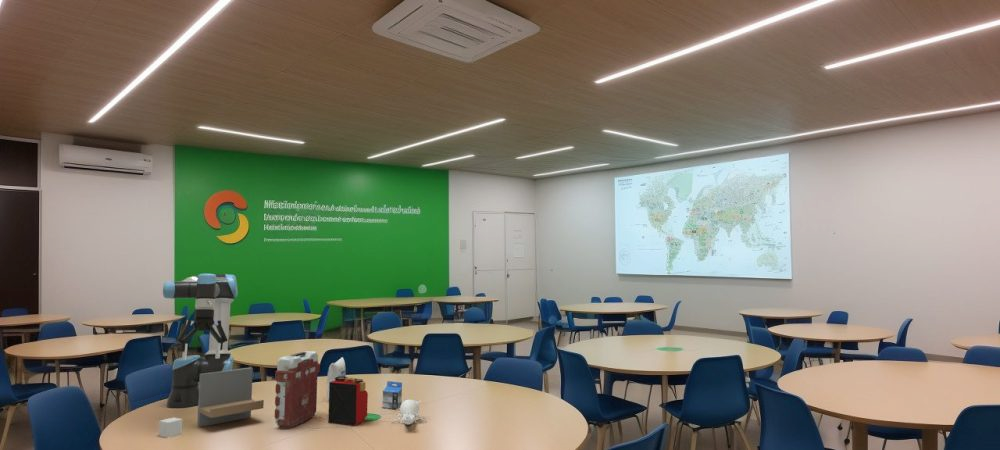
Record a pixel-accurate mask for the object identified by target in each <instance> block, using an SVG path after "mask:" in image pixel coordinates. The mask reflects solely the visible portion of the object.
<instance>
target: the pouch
mask: <svg viewBox="0 0 1000 450" xmlns="http://www.w3.org/2000/svg"><path fill="white" fill-rule="evenodd" d="M345 361H346V360H345V359H344V357H343V356H342V357H340V359H338V360H337V361H335V362H332V363H331V364H330V365H329V367H328V370H327V378H326V379H327V381H326V395H327V400H328V401H329V382H331V381H335V378H336V377H342V376H344V377H347V376H346V372H347V369H346V368H347V367H346V362H345Z"/></svg>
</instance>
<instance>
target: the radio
mask: <svg viewBox="0 0 1000 450" xmlns="http://www.w3.org/2000/svg"><path fill="white" fill-rule="evenodd" d="M368 396H369V394H368V391H367V390H366V382H365V381H364V379H362V378H354V377H348V376H345V377H344V376H342V377H336V378H335V381H331V382H329V400H328V420H327V421H328V423H329V424H339V425H345V426H346V425H348V426H359V425H360V423H363V422H365V421H366V418H367V416H368V398H369V397H368Z"/></svg>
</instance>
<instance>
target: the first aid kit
mask: <svg viewBox="0 0 1000 450" xmlns="http://www.w3.org/2000/svg"><path fill="white" fill-rule="evenodd" d="M320 364H321V363H319V355H318V353H317V351H313V350H312V351H311V350H309V351H308V350H305V351H299V352H297V353H292V354H290V355H285V356H281V357H279V358H278V361H277V366H276V368H277V370H275V372H274V373H275V374H274V380H275V381H276V384H275V394H276V396H275V398H274V404H275V409H274V419H275V424H276V425H277V427H280V428H283V429H288V428H289V429H290V428H293V427H295V426H297V425H301V424H303V423H304V422H306V421H308V420H310V419H311V418H314V417H315V415H316V412H317V403H318V402H317V400H318V397H317V396H318V374H319V373H320V370H321V369H320V367H321V365H320Z"/></svg>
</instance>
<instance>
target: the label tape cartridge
mask: <svg viewBox="0 0 1000 450" xmlns="http://www.w3.org/2000/svg"><path fill="white" fill-rule="evenodd" d="M402 394H403V382H402V381H401V382H398V381H390V380H387V381H386V386H385V388H384V389H383V390H382V405H381V407H382V409H387V408H390V409H389V410H395V409H399V408H400V406H401V404H402V403H403V401H402V400H403V399H402V397H403V395H402ZM399 410H400V409H399Z"/></svg>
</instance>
